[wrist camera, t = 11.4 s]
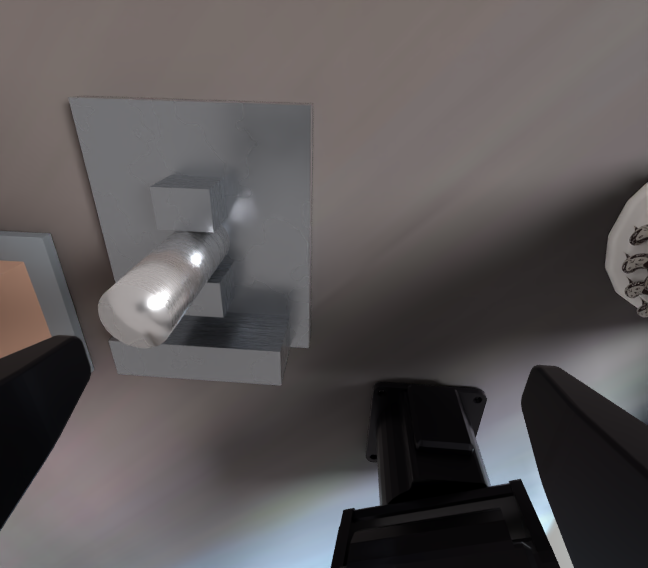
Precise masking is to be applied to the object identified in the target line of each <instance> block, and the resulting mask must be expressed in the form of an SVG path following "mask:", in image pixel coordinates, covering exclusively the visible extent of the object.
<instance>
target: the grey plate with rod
mask: <svg viewBox="0 0 648 568" xmlns="http://www.w3.org/2000/svg"><path fill="white" fill-rule="evenodd" d="M68 99H69V103H70V107H71V111H72V115H73V119H74V122H75V126H76V130H77V134H78V138H79V142H80V146H81V150H82V154H83V158H84V162H85V166H86V170H87V174H88V177H89V181H90V185H91V189H92V193H93V197H94V201H95V205H96V209H97V213H98V217H99V221H100V225H101V228H102V232H103V236H104V240H105V244H106V248H107V252H108V256H109V260H110V264H111V268H112V272H113V276H114V280H115V284H114V285H113V286H112V287H111V288H110V289H109V290H107V291H106V292H105V293H104V294H103V295H102V297H101V298H100V300H99V304H98V313H99V317H100V320H101V322H102V324H103V326H104V327H105V328H106V330H107V331H108V332H109V333H110V334H111V335H112V337H111V338H110V339H109V345H110V348H111V352H112V355H113V359H114V362H115V366H116V369H117V373H118V374H123V375H137V376H152V377H166V378H180V379H195V380H209V381H223V382H238V383H252V384H266V385H281V384H282V380H283V376H284V372H285V368H286V364H287V359H288V355H289V351H290V347H299V348H309V344H310V338H311V266H312V176H313V104H311V103H281V102H250V101H220V100H189V99H158V98H128V97H97V96H78V97H68Z"/></svg>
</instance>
